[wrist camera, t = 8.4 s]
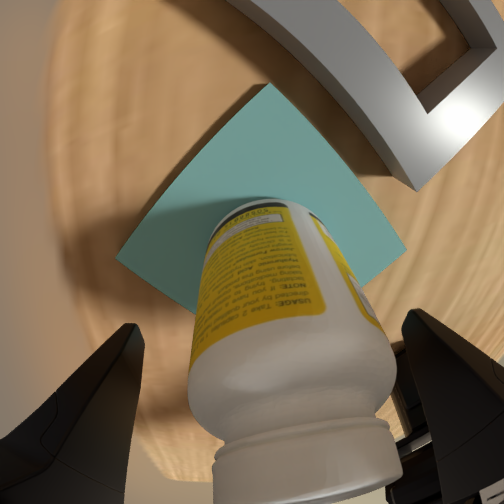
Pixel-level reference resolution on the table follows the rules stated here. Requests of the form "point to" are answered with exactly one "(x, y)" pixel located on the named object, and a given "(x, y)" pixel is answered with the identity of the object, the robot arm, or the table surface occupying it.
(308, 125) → the mat
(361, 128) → the socket block
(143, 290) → the table surface
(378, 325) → the supplement bottle
